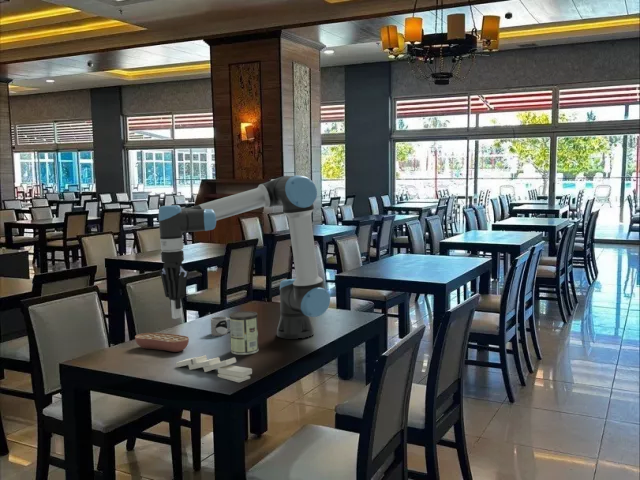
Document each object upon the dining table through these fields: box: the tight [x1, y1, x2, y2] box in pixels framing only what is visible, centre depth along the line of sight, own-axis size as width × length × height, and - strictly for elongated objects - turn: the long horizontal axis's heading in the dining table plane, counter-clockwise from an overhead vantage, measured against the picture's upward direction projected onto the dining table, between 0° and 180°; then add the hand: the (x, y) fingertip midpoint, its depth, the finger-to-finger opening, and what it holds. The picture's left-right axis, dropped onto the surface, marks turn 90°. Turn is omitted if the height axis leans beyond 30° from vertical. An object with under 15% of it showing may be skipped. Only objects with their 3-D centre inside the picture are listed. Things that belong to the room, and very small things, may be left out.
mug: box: [210, 315, 230, 337], centre depth 263 cm, size 10×7×7 cm
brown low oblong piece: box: [134, 332, 190, 353], centre depth 240 cm, size 23×10×5 cm, turn 64°
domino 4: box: [217, 364, 253, 377], centre depth 205 cm, size 2×5×10 cm
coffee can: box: [229, 310, 259, 356], centre depth 234 cm, size 10×10×14 cm
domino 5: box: [217, 373, 251, 383], centre depth 203 cm, size 2×5×10 cm
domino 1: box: [175, 354, 208, 368], centre depth 215 cm, size 2×5×10 cm
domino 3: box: [203, 357, 237, 373], centre depth 209 cm, size 2×5×10 cm
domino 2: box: [187, 356, 221, 370], centre depth 212 cm, size 2×5×10 cm
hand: (176, 317), depth 219 cm, fingers closed
